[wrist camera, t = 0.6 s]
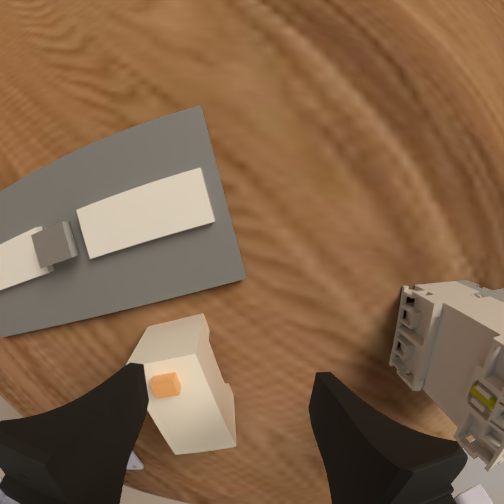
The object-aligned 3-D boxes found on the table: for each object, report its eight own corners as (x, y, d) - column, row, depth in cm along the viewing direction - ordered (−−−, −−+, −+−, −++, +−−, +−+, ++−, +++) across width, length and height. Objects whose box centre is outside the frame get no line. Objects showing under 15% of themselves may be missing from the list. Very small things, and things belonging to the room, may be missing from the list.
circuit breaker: (485, 339, 25) (573, 398, 10) (388, 364, 24) (485, 473, 9) (499, 276, 23) (603, 318, 9) (402, 285, 22) (542, 369, 8)
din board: (7, 333, 20) (-3, 340, 19) (-29, 214, 18) (-41, 216, 16) (246, 274, 21) (247, 281, 19) (202, 109, 19) (199, 101, 17)
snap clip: (49, 265, 18) (40, 268, 16) (40, 232, 17) (30, 235, 16) (80, 254, 18) (72, 257, 17) (70, 220, 17) (61, 221, 16)
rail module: (183, 405, 23) (173, 464, 16) (148, 326, 21) (119, 376, 14) (233, 396, 23) (236, 456, 16) (203, 313, 21) (193, 363, 14)
